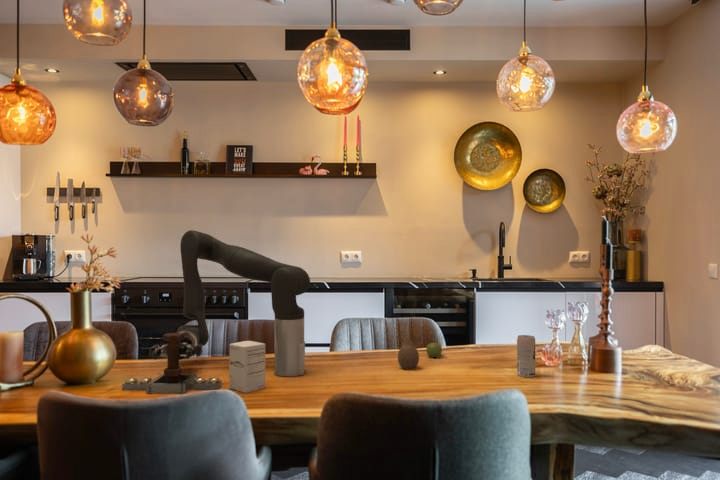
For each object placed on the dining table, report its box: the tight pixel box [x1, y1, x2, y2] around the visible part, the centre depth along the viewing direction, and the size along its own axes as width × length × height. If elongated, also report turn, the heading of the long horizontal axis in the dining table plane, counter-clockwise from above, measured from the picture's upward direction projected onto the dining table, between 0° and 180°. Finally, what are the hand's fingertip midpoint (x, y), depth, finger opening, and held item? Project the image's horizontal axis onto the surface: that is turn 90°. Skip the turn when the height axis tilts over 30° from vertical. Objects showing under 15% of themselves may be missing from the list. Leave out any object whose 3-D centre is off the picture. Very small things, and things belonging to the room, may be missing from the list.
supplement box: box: [228, 340, 266, 394], centre depth 149 cm, size 7×7×13 cm
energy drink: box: [516, 334, 536, 379], centre depth 163 cm, size 5×5×12 cm
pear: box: [425, 342, 443, 358], centre depth 192 cm, size 6×5×10 cm
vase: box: [397, 340, 420, 370], centre depth 173 cm, size 7×7×9 cm
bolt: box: [162, 332, 185, 383], centre depth 149 cm, size 6×5×15 cm
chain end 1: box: [121, 373, 184, 395], centre depth 149 cm, size 18×11×3 cm, turn 92°
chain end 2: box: [162, 373, 223, 394], centre depth 149 cm, size 18×11×3 cm, turn 92°
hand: (171, 355), depth 147 cm, fingers open, 8 cm apart
